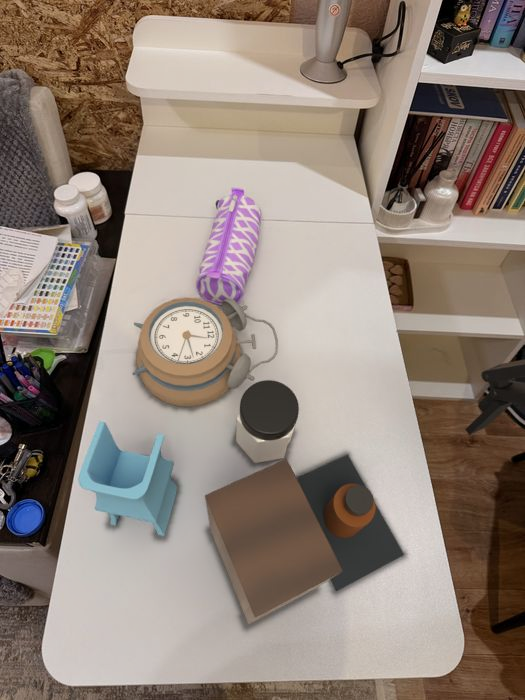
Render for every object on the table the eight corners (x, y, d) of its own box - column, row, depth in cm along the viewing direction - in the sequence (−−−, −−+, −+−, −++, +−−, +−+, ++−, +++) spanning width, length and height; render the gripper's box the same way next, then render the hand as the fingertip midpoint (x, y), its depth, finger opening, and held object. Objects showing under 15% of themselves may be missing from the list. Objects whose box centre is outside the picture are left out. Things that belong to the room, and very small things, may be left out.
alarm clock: (130, 289, 81) (273, 282, 84) (139, 320, 89) (269, 314, 92) (126, 385, 73) (286, 375, 75) (136, 410, 81) (280, 401, 83)
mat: (403, 555, 72) (404, 554, 72) (336, 591, 70) (336, 591, 69) (347, 455, 79) (347, 454, 79) (284, 484, 76) (284, 483, 76)
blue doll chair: (179, 481, 76) (165, 433, 59) (164, 536, 72) (144, 502, 55) (128, 470, 76) (98, 420, 59) (110, 524, 72) (73, 487, 55)
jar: (280, 472, 77) (288, 445, 67) (229, 454, 78) (230, 425, 68) (297, 420, 82) (307, 387, 71) (249, 404, 83) (252, 369, 72)
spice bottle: (369, 527, 74) (390, 510, 64) (335, 544, 72) (351, 529, 63) (349, 492, 76) (367, 470, 66) (316, 508, 75) (329, 488, 65)
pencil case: (216, 217, 103) (215, 180, 94) (262, 223, 102) (265, 187, 94) (195, 307, 92) (192, 274, 83) (246, 314, 91) (248, 282, 83)
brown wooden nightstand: (315, 588, 70) (343, 570, 52) (248, 624, 67) (255, 617, 50) (273, 501, 75) (286, 458, 58) (210, 530, 73) (204, 495, 55)
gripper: (859, 513, 33) (628, 578, 50) (579, 252, 45) (469, 377, 62) (798, 564, 31) (576, 614, 48) (518, 273, 42) (421, 398, 59)
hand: (515, 481), depth 55 cm, fingers open, 13 cm apart
